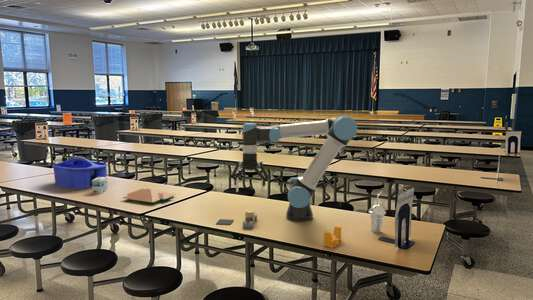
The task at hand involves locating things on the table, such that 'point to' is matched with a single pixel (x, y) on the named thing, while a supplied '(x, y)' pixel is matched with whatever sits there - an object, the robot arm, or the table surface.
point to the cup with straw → (377, 216)
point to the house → (149, 195)
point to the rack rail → (249, 223)
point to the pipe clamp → (332, 237)
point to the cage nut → (250, 215)
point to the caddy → (78, 172)
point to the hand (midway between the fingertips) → (249, 191)
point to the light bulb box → (99, 185)
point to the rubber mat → (224, 222)
